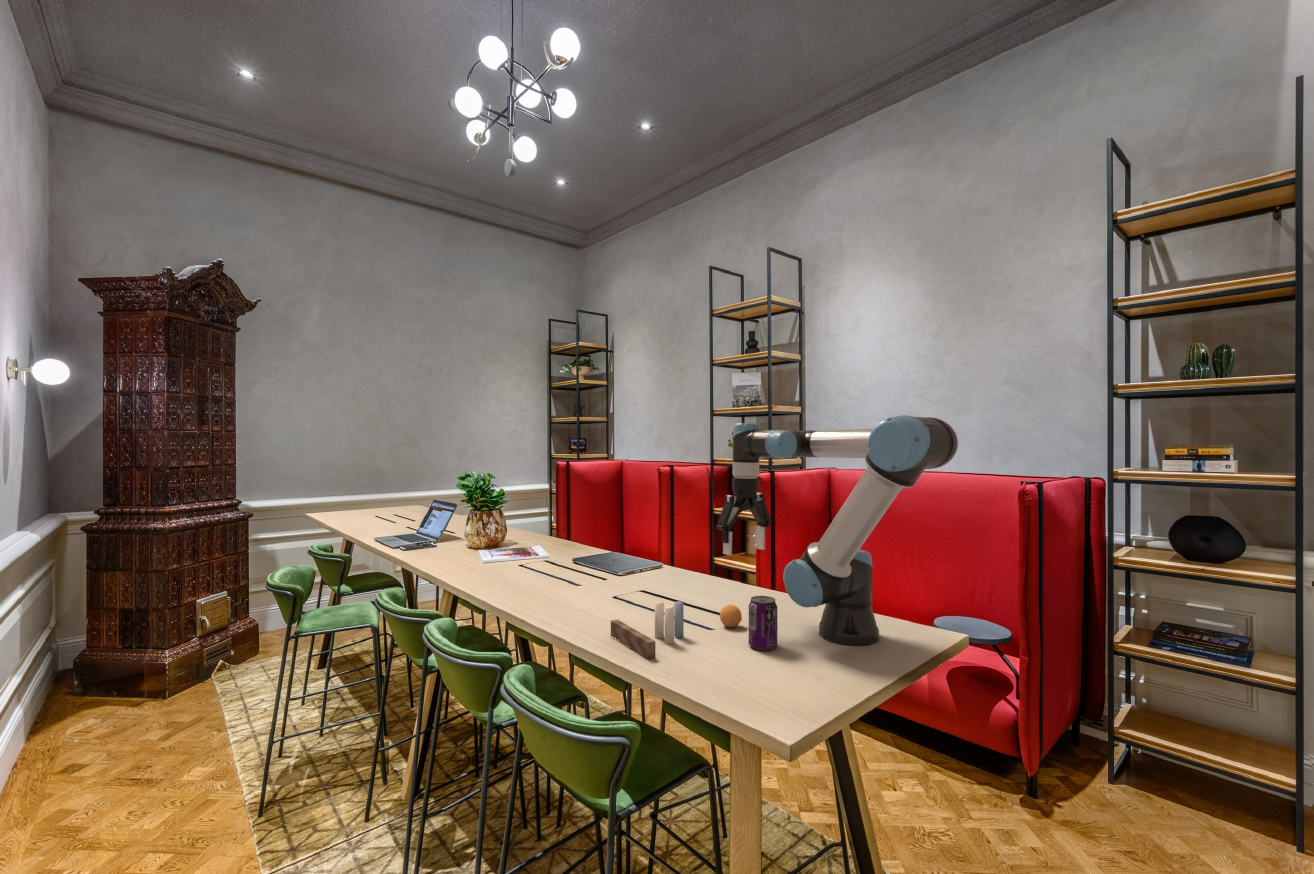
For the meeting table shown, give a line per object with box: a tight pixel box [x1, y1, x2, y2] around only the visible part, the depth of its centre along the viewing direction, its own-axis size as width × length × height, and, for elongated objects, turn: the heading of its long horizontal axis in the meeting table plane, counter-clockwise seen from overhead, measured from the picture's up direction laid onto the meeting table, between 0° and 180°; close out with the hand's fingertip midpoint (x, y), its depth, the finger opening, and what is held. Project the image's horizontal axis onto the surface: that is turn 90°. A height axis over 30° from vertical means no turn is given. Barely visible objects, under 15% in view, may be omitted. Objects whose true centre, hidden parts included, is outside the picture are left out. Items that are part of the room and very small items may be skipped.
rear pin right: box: [654, 601, 665, 640], centre depth 155 cm, size 2×2×9 cm
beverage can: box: [748, 595, 779, 651], centre depth 147 cm, size 7×7×12 cm
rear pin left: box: [664, 605, 675, 645], centre depth 150 cm, size 2×2×9 cm
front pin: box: [673, 601, 685, 640], centre depth 155 cm, size 2×2×9 cm
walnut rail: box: [610, 618, 656, 661], centre depth 148 cm, size 20×2×4 cm, turn 30°
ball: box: [719, 604, 743, 628], centre depth 163 cm, size 6×6×6 cm
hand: (744, 551), depth 168 cm, fingers open, 13 cm apart
